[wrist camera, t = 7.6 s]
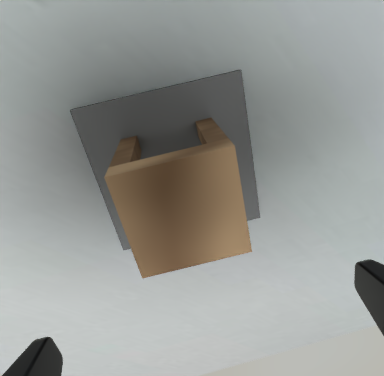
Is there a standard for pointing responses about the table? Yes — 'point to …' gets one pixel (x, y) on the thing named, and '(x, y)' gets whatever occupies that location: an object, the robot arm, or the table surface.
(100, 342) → the table surface
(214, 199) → the stool
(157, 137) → the mat
